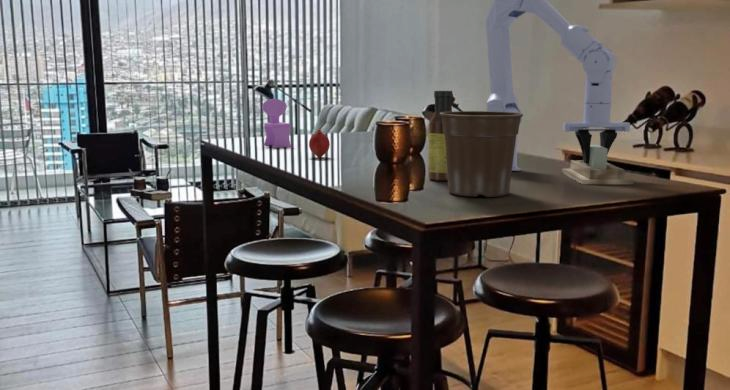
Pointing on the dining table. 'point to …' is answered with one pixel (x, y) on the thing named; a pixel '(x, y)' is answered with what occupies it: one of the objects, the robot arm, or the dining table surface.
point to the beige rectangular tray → (596, 174)
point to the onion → (319, 143)
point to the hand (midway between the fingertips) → (594, 163)
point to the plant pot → (480, 151)
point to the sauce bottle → (438, 137)
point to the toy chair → (276, 124)
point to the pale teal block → (598, 157)
